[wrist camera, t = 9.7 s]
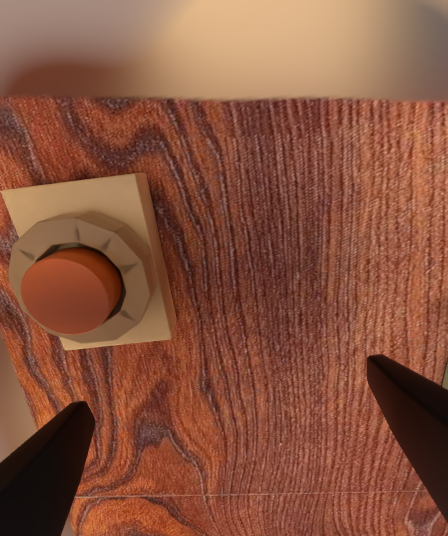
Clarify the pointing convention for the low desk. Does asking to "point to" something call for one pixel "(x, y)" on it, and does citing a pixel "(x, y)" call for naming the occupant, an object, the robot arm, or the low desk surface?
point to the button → (71, 290)
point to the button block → (98, 250)
